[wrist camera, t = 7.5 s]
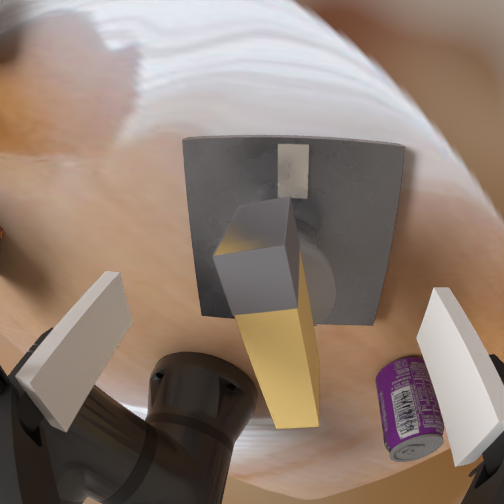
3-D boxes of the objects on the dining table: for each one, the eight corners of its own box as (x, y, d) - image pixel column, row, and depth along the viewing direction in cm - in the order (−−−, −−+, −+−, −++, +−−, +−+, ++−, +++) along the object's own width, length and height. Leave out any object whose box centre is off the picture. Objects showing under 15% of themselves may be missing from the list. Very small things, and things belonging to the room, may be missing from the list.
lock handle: (264, 348, 25) (249, 429, 18) (219, 200, 20) (174, 262, 13) (340, 340, 24) (347, 424, 17) (319, 182, 18) (330, 238, 11)
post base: (370, 316, 31) (381, 365, 25) (205, 307, 34) (185, 352, 28) (399, 143, 23) (430, 160, 17) (188, 137, 25) (153, 151, 19)
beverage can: (367, 386, 37) (374, 464, 26) (387, 350, 33) (405, 435, 23) (411, 389, 36) (426, 461, 26) (435, 354, 33) (459, 431, 22)
